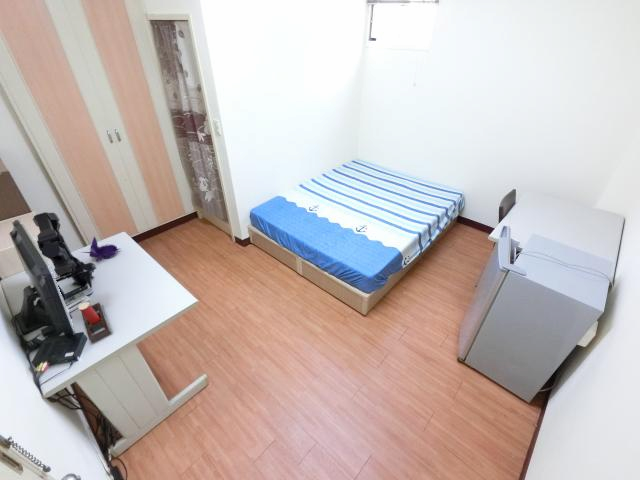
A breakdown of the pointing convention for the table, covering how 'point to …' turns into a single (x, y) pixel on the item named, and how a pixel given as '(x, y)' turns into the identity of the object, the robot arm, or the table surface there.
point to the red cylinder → (89, 313)
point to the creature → (101, 250)
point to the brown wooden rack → (97, 325)
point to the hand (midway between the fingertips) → (78, 292)
